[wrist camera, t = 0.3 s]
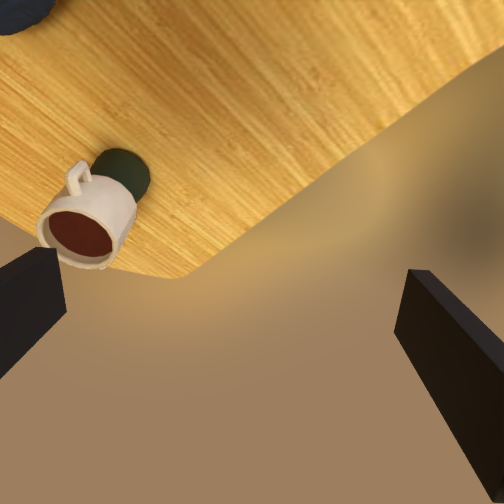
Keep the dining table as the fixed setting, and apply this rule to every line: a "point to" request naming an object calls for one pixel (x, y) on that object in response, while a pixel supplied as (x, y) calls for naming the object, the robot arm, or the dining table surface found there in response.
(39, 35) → the dining table surface
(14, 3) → the decorative stone
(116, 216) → the character mug
